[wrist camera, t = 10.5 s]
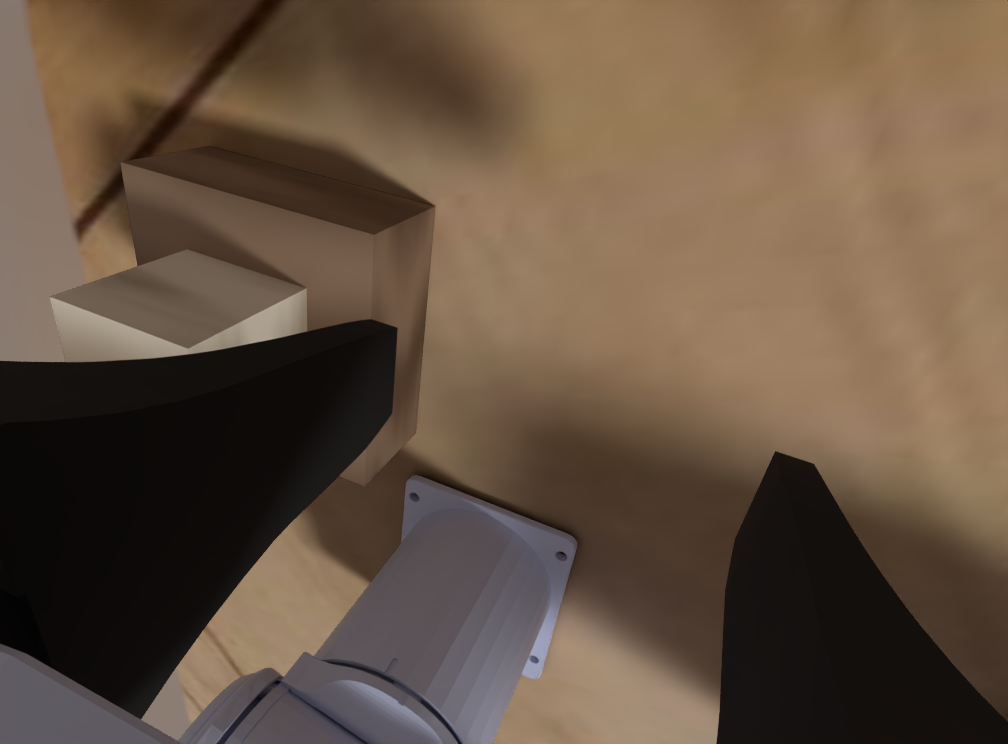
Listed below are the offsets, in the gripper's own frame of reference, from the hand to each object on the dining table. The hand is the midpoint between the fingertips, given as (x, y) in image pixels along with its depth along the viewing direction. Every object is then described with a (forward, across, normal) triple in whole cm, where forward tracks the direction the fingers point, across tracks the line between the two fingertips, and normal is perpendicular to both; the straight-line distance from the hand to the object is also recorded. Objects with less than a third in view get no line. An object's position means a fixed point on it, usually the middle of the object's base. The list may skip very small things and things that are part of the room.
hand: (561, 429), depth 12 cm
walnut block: (+10, +13, +5) cm, 17 cm away
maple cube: (+6, +13, +5) cm, 15 cm away
